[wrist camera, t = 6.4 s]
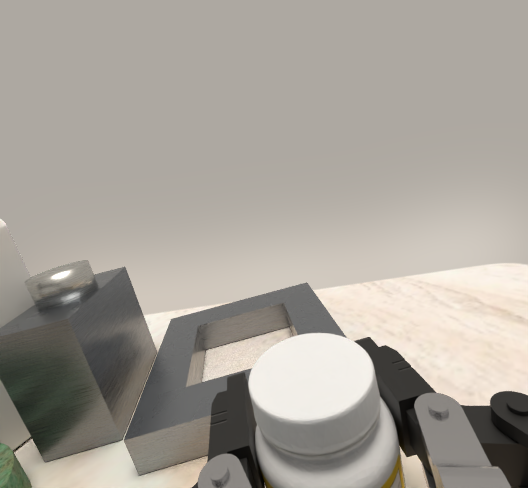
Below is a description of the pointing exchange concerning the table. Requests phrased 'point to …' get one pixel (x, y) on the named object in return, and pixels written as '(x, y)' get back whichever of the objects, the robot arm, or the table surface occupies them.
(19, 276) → the milk carton
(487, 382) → the table surface
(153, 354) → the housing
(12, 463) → the decorative artifact
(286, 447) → the supplement bottle
